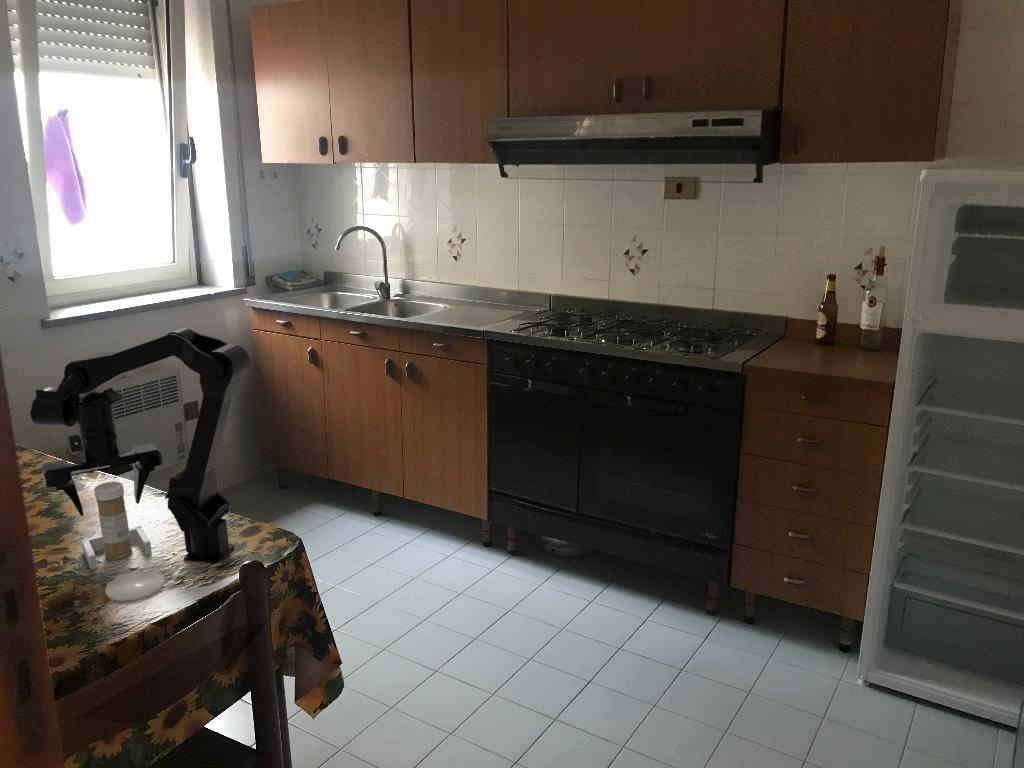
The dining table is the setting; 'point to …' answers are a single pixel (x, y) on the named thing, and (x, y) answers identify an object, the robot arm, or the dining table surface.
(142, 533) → the grey archway
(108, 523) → the sprinkles bottle
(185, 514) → the robot arm
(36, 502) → the dining table surface
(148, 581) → the coaster
